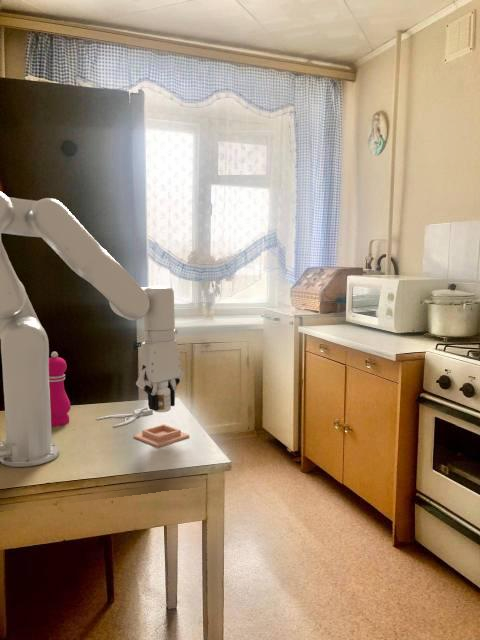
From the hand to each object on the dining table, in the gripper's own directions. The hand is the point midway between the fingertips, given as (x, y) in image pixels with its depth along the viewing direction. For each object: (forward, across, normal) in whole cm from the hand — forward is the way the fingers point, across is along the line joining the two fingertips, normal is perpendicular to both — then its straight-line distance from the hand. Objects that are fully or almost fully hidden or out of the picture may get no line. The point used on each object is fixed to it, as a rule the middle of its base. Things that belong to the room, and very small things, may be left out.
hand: (161, 406), depth 131 cm
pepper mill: (+8, +13, -30) cm, 34 cm away
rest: (+8, 0, 0) cm, 8 cm away
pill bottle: (+1, 0, 0) cm, 1 cm away
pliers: (+9, -3, -20) cm, 22 cm away
